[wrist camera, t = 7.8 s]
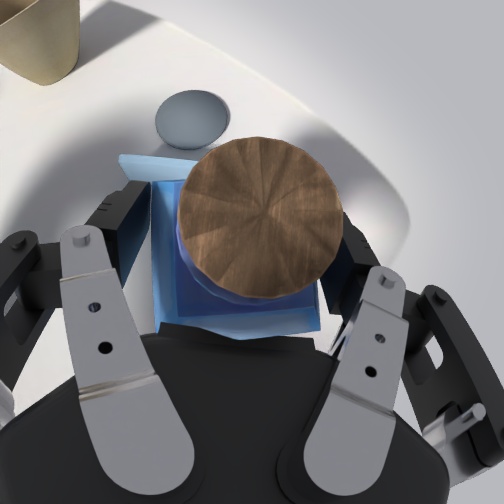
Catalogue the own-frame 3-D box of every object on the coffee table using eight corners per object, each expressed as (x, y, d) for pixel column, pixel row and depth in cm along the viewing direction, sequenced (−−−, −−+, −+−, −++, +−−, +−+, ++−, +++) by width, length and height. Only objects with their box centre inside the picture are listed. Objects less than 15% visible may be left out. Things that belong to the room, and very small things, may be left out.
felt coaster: (220, 153, 31) (220, 151, 30) (148, 146, 30) (147, 143, 29) (231, 97, 32) (231, 94, 32) (165, 90, 31) (165, 87, 31)
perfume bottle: (169, 220, 17) (115, 88, 5) (273, 216, 18) (372, 96, 6) (174, 327, 16) (108, 389, 5) (281, 320, 17) (414, 352, 6)
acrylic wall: (262, 198, 31) (273, 180, 26) (130, 182, 29) (117, 161, 24) (263, 191, 31) (273, 172, 26) (131, 175, 29) (120, 153, 24)
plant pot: (58, 32, 31) (33, -35, 15) (121, 41, 32) (102, -44, 16) (-1, 98, 28) (-48, 38, 12) (54, 118, 29) (-1, 37, 13)
